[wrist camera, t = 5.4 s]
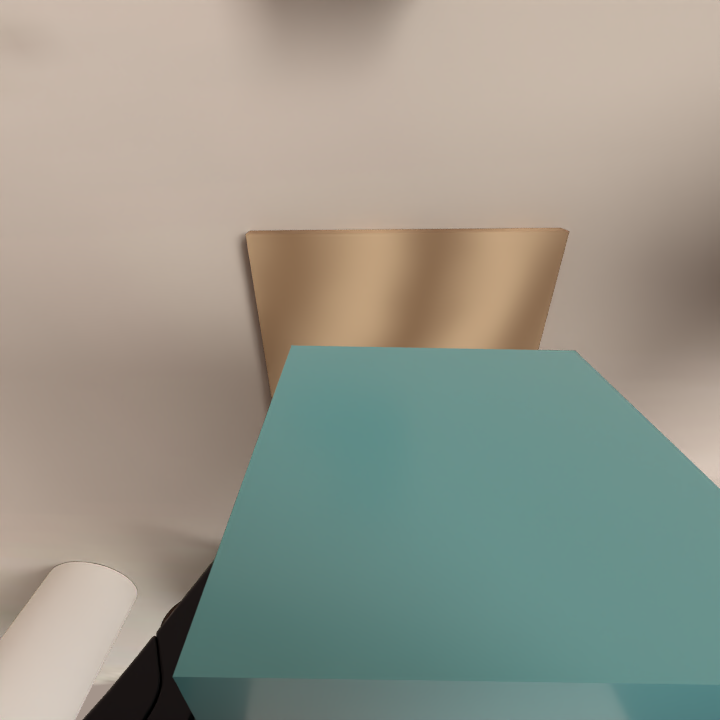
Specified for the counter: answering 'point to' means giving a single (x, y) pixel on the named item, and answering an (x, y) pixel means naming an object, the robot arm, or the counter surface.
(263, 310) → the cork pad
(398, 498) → the tilted teal cube
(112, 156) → the counter surface
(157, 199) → the counter surface
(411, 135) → the counter surface
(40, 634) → the cylindrical container
